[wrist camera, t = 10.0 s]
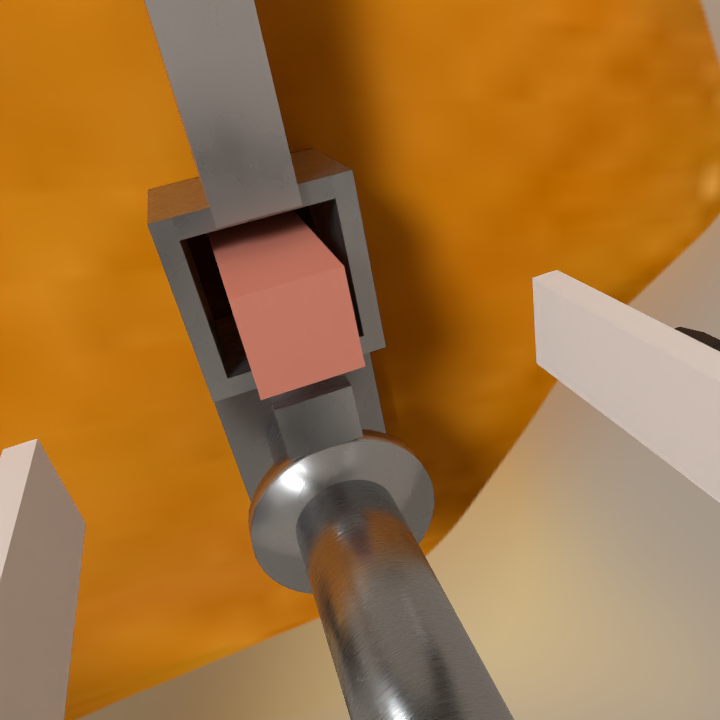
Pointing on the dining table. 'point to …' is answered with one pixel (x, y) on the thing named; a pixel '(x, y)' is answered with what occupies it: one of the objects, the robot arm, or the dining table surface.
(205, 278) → the dining table surface
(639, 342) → the robot arm
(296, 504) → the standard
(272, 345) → the wedge pin
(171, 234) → the bracket
